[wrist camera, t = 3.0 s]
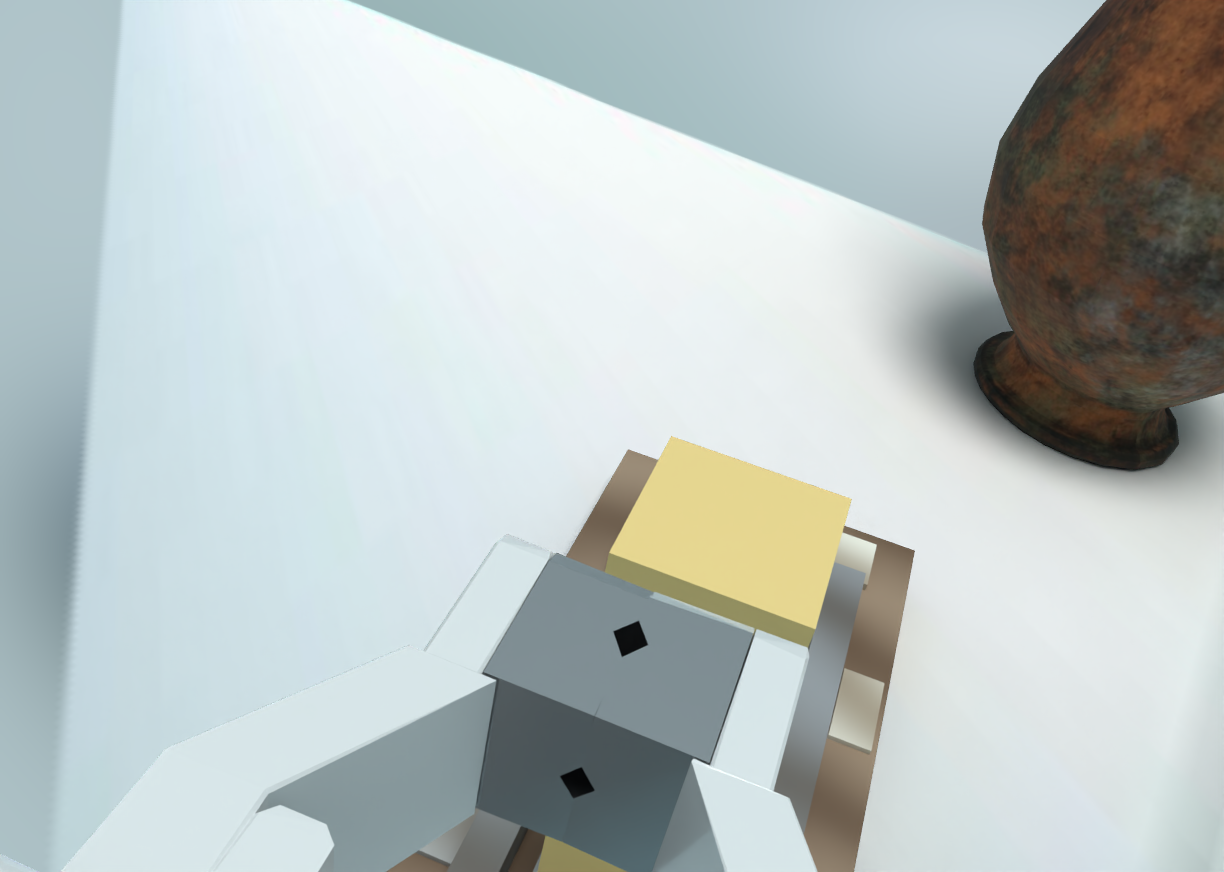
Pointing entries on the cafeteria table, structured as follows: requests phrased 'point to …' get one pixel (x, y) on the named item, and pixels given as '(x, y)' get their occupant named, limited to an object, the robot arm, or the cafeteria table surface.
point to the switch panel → (823, 719)
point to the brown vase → (1112, 236)
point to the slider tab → (724, 557)
